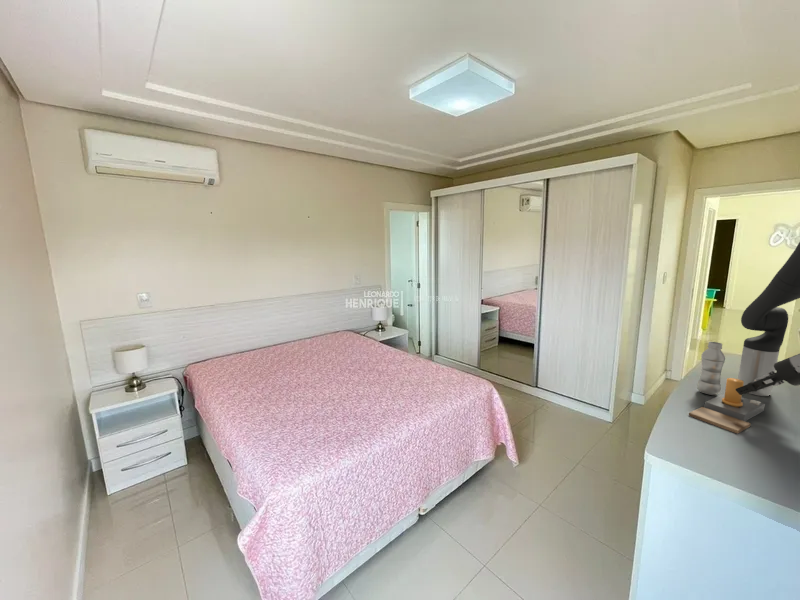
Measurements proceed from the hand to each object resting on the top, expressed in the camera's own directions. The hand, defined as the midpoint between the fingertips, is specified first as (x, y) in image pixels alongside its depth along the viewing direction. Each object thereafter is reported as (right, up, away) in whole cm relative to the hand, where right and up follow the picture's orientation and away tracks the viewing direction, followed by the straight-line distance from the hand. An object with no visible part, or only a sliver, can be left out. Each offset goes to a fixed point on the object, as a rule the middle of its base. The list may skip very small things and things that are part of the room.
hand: (743, 389), depth 109 cm
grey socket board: (+1, -8, +4) cm, 9 cm away
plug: (-1, -8, +3) cm, 9 cm away
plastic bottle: (+4, -6, +16) cm, 18 cm away
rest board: (-11, -9, -3) cm, 15 cm away
